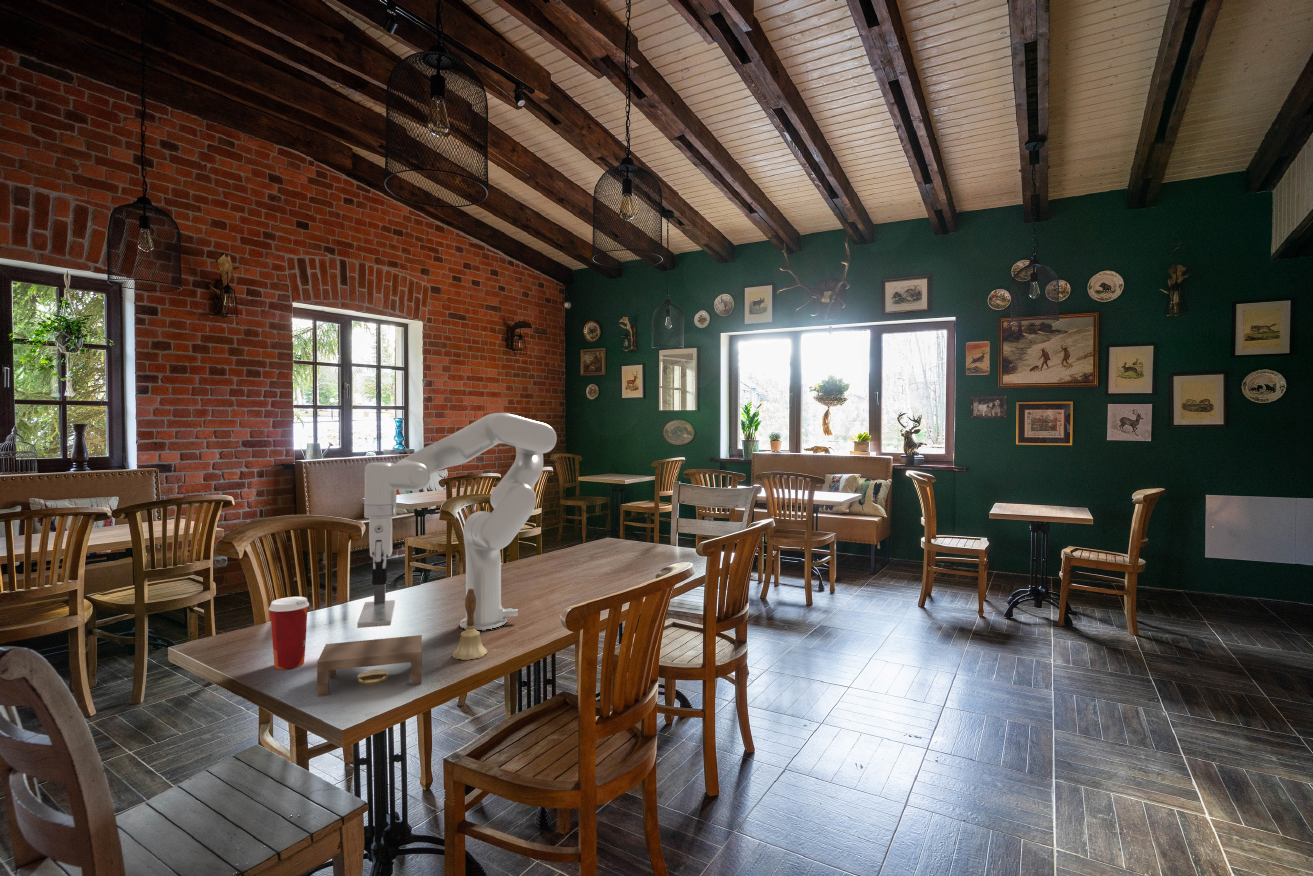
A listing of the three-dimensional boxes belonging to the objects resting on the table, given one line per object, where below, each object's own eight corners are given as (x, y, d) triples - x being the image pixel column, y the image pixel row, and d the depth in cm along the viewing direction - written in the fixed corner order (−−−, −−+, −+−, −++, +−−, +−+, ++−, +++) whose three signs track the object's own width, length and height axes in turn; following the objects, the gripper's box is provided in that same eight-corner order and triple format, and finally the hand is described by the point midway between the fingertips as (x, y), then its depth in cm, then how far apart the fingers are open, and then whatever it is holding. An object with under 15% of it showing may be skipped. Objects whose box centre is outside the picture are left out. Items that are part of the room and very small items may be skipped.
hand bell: (493, 650, 162) (493, 586, 162) (477, 661, 154) (477, 594, 154) (463, 647, 164) (463, 584, 164) (445, 659, 156) (445, 592, 156)
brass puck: (387, 674, 147) (387, 667, 147) (388, 683, 141) (388, 676, 141) (357, 678, 144) (357, 671, 144) (357, 688, 139) (357, 681, 139)
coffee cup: (317, 661, 154) (317, 597, 154) (287, 673, 146) (287, 606, 146) (290, 657, 157) (290, 594, 157) (259, 669, 149) (259, 603, 149)
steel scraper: (394, 604, 169) (395, 546, 169) (390, 625, 151) (391, 559, 151) (365, 606, 167) (365, 547, 167) (357, 628, 149) (358, 561, 149)
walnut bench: (421, 665, 152) (421, 635, 152) (421, 684, 140) (421, 651, 140) (326, 675, 145) (325, 644, 145) (317, 696, 134) (317, 662, 134)
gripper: (394, 514, 160) (393, 589, 161) (397, 507, 176) (396, 575, 176) (361, 515, 158) (360, 591, 158) (367, 507, 173) (366, 577, 173)
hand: (379, 582), depth 167 cm, fingers closed on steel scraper, 2 cm apart
